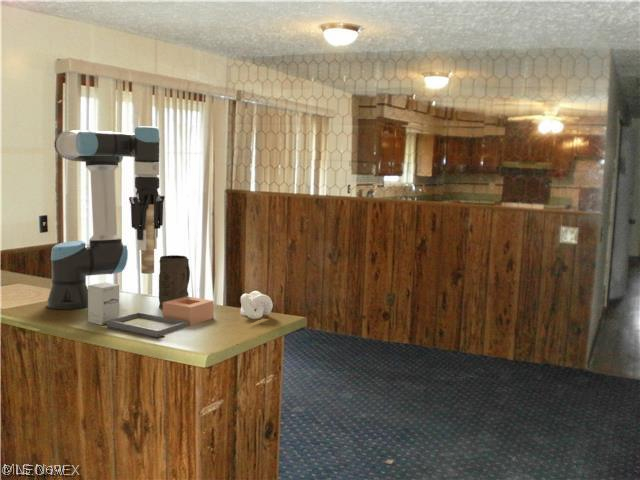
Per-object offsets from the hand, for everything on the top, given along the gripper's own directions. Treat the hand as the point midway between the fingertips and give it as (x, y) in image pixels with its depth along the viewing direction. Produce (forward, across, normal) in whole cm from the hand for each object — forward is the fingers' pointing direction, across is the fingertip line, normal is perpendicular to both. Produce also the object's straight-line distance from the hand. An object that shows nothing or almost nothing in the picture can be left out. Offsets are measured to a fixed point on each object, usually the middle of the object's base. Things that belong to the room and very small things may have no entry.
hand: (147, 249), depth 203 cm
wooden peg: (+8, 0, 0) cm, 8 cm away
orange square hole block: (+26, +14, -5) cm, 30 cm away
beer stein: (+26, +27, +12) cm, 40 cm away
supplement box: (+26, -2, +18) cm, 32 cm away
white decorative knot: (+26, +31, -20) cm, 45 cm away
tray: (+26, 0, 0) cm, 26 cm away
